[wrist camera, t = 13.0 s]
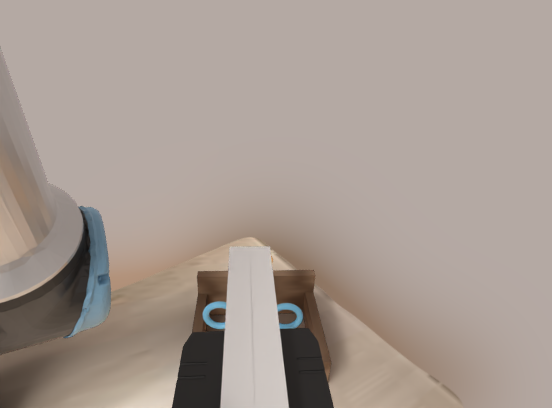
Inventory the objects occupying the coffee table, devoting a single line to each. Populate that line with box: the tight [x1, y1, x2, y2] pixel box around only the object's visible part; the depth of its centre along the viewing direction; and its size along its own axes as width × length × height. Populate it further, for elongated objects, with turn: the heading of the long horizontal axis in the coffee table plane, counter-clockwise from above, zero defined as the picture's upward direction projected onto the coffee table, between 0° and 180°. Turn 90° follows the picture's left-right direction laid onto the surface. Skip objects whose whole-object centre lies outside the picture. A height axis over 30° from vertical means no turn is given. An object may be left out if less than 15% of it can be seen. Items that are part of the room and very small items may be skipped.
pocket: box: [192, 270, 331, 381], centre depth 47 cm, size 16×13×7 cm
